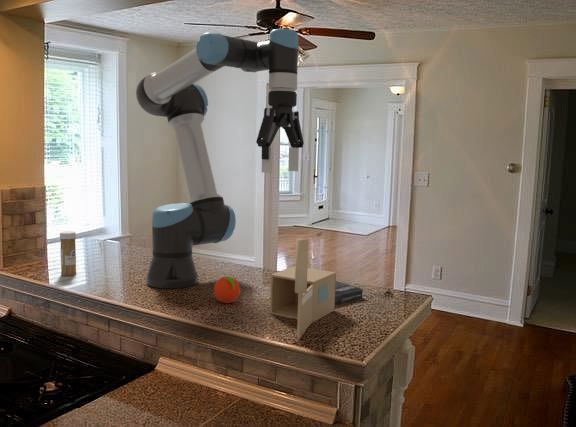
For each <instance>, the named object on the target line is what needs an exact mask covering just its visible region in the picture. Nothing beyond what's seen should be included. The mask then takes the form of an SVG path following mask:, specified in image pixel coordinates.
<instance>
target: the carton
mask: <svg viewBox="0 0 576 427" xmlns="http://www.w3.org/2000/svg"><path fill="white" fill-rule="evenodd" d="M295 268H296V265H293V266H291V267H289V268H286V269H282V270H280V271H277V272H274V273H272V274H270V299H269V301H270V305H269V310H270V311H269V313H270V314H271V315H275V316H280V317H284V318H289V319H292V320H297V321H298V293H295ZM336 275H337V273H336V271H329V270H323V269H317V268H310V267H308V270H307V289H308V288H309V287H310V286H311V285H313V307H312V323H311V324H313V323H315V322H316V321H318V320H320V319H322V318H324V317H325V316H327V315H328V314H330V313H333V312H334V311H335V306H336V305H335V283H336V279H337V278H336V277H337V276H336Z"/></svg>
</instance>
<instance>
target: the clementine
mask: <svg viewBox="0 0 576 427" xmlns="http://www.w3.org/2000/svg"><path fill="white" fill-rule="evenodd" d="M240 287H241V286H240V284H239V281H237V280H236V279H235V278H234V277H233V276H232V277H231V276H228V275H227V276H223V277H221V278H220V279H218V280H217V281H216V282H215V284H214V287H213V294H214V297H215V298H216V299H217V300H218V301H219V302H221V303H224V304H230V303H233V302H235V301H236V300H237V299H238V298H239V295H240V294H241V288H240Z"/></svg>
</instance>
